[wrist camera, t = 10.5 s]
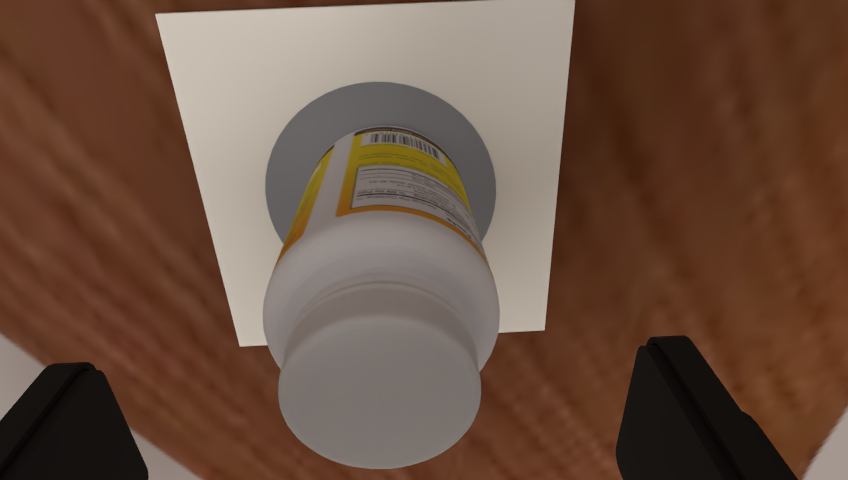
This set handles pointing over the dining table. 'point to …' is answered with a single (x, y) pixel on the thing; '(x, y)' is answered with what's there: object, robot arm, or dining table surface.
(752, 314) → the dining table surface
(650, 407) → the robot arm
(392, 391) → the supplement bottle
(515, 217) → the card
